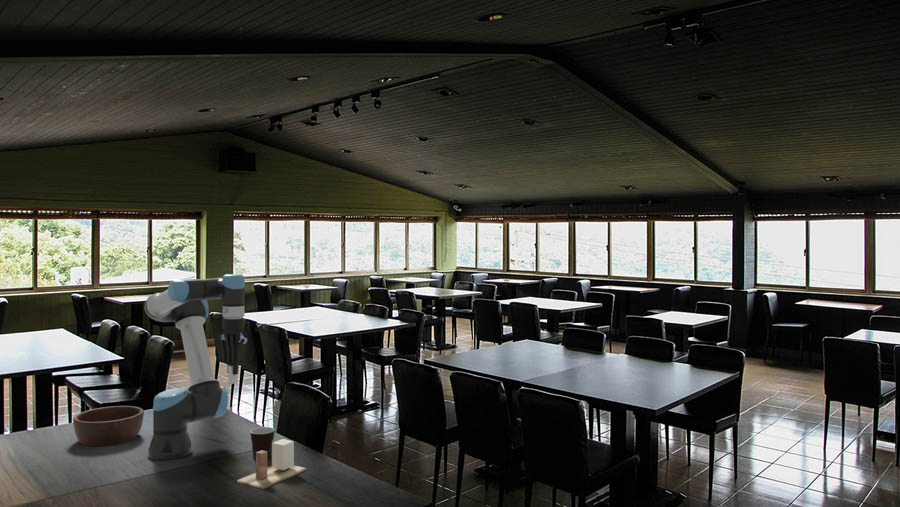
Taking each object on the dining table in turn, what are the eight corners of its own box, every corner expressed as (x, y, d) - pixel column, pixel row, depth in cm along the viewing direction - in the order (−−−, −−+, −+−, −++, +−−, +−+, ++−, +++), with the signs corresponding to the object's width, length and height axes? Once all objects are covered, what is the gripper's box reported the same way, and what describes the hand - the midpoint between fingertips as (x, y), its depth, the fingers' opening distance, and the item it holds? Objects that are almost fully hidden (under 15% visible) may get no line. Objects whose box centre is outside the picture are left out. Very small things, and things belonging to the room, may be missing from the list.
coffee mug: (267, 462, 228) (267, 434, 228) (245, 460, 230) (245, 433, 229) (282, 451, 239) (282, 425, 239) (261, 450, 241) (261, 424, 241)
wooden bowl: (156, 436, 256) (156, 411, 256) (94, 453, 235) (94, 426, 235) (122, 426, 270) (122, 402, 270) (60, 441, 249) (60, 415, 249)
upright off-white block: (271, 467, 218) (272, 442, 218) (282, 463, 223) (282, 438, 223) (283, 470, 216) (283, 445, 216) (293, 465, 220) (293, 441, 220)
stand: (237, 481, 209) (237, 453, 209) (280, 463, 227) (280, 437, 226) (263, 489, 203) (263, 459, 203) (305, 469, 221) (306, 442, 221)
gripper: (212, 317, 225) (211, 382, 225) (238, 320, 218) (237, 387, 219) (228, 315, 231) (228, 378, 232) (254, 317, 225) (253, 383, 226)
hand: (232, 383), depth 226 cm, fingers closed
